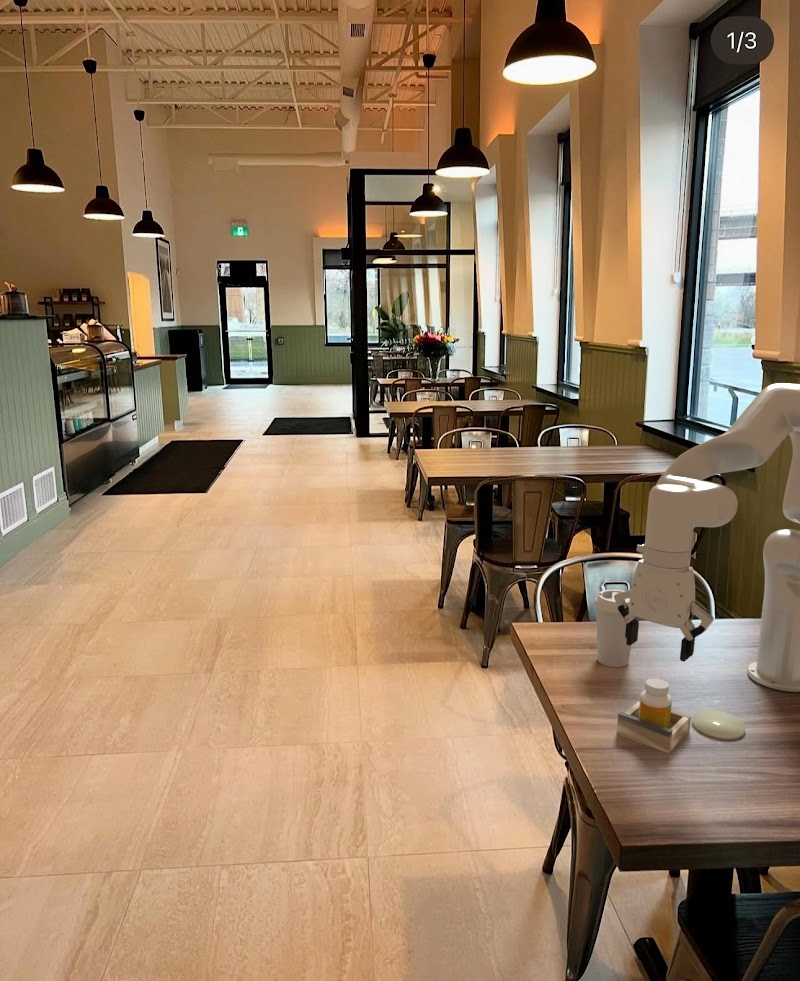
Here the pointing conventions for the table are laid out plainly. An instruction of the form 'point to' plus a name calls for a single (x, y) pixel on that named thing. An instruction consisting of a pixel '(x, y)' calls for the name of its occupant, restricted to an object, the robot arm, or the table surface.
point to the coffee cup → (611, 630)
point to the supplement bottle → (656, 703)
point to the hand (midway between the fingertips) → (657, 650)
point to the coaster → (718, 724)
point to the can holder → (653, 729)
